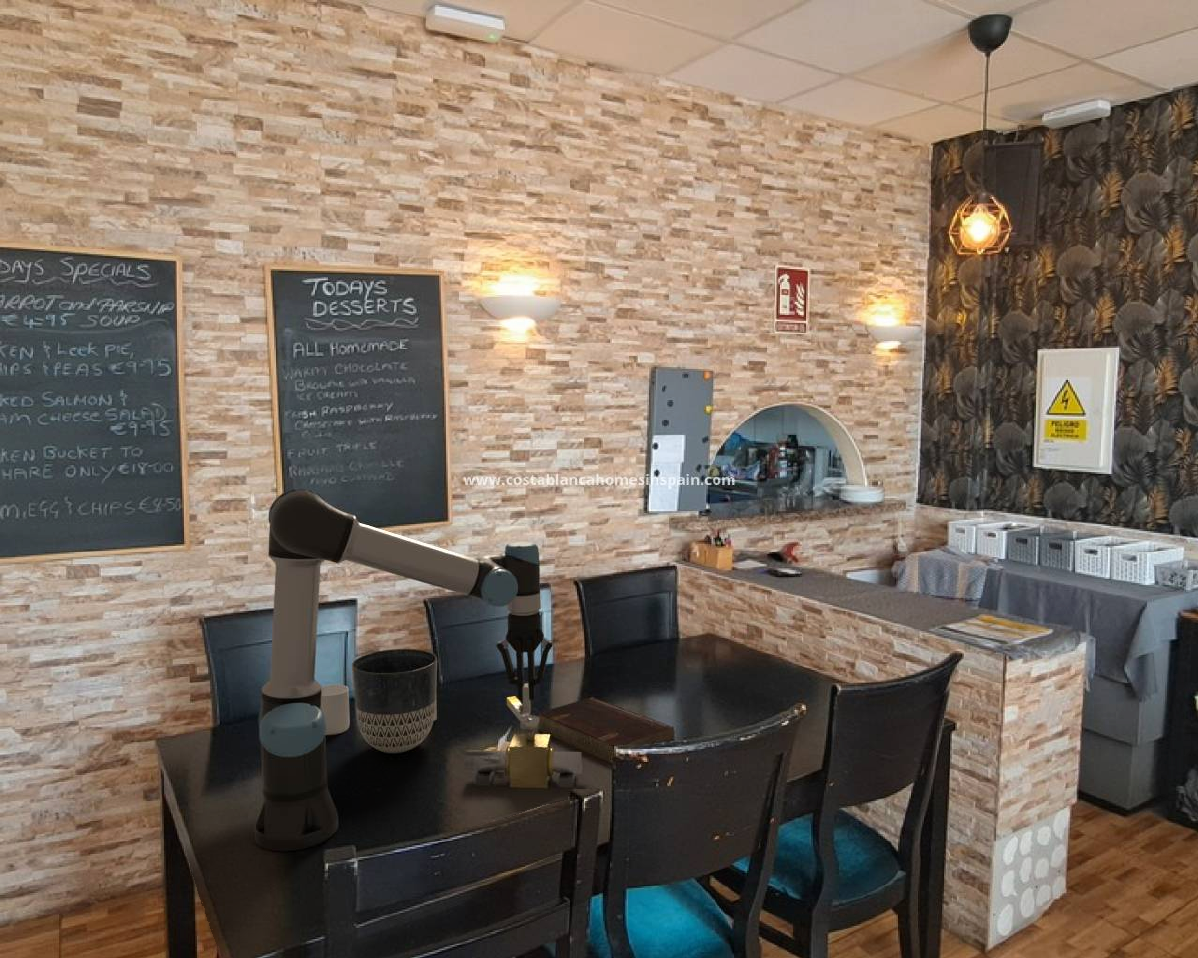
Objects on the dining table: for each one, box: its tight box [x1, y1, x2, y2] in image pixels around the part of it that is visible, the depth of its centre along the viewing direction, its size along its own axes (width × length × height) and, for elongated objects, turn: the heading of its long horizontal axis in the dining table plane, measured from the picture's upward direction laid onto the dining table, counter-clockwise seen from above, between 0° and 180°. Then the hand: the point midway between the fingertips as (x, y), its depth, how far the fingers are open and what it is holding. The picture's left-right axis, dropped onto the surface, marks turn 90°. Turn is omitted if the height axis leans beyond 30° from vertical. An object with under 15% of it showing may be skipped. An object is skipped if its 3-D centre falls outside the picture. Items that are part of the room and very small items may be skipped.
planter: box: [351, 648, 438, 754], centre depth 204 cm, size 20×20×21 cm
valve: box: [464, 730, 583, 789], centre depth 187 cm, size 7×25×12 cm, turn 87°
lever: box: [506, 695, 539, 731], centre depth 192 cm, size 17×4×2 cm, turn 22°
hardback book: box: [537, 696, 675, 764], centre depth 211 cm, size 29×19×5 cm, turn 43°
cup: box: [321, 684, 350, 736], centre depth 218 cm, size 8×12×10 cm
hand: (527, 713), depth 196 cm, fingers closed
